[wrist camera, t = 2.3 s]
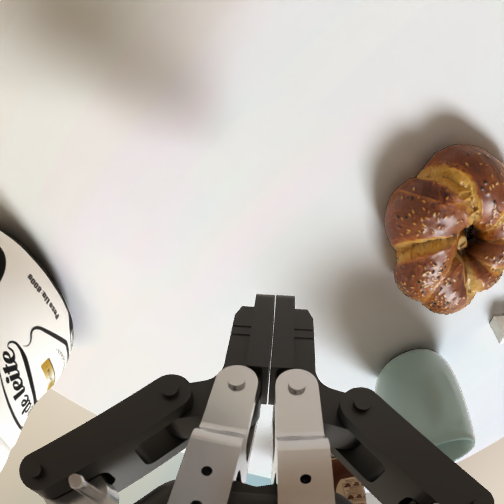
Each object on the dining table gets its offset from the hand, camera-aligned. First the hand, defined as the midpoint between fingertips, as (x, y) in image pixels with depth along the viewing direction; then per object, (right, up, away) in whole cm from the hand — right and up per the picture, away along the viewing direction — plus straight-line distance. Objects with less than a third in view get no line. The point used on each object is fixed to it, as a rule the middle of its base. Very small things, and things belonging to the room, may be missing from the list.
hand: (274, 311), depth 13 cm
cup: (+13, -8, +13) cm, 20 cm away
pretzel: (+12, +4, +6) cm, 14 cm away
